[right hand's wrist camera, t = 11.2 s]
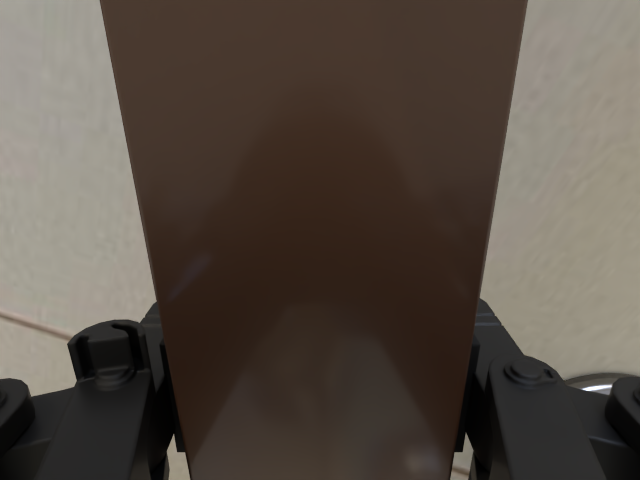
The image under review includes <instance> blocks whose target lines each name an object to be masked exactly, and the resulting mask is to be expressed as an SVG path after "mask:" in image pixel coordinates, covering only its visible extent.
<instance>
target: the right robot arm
mask: <svg viewBox="0 0 640 480" xmlns="http://www.w3.org/2000/svg"><path fill="white" fill-rule="evenodd" d="M67 345H68V349H69V353H70V356H71V360H72V364H73V368H74V372H75V375H76V379H77V382H76V384H75V386H74V387H72V388H69V389H65V390H61V391H56V392H52V393H47V394H42V395H38V396H33V397H31V395H30V392H29V389H28V385H26V384H25V383H24V382H23V381H22V380H17V379H11V378H7V379H0V480H168V479H169V470H170V469H169V462H168V456H167V449H168V447H169V444H170V442H171V439H172V437H173V434H174V436H175V442H176V448H177V452H185V448H184V443H183V437H182V432H181V427H180V422H179V416H178V411H177V406H176V400H175V395H174V390H173V385H172V379H171V374H170V369H169V363H168V358H167V353H166V348H165V342H164V337H163V332H162V326H161V321H160V316H159V311H158V305H157V302H156V303H154V304H153V305H152V307H151V308H150V310H149V311H148V312H147V314H146V315H145V318H143V319H142V321H141V322H140V323H138V322H135V321H131V320H111V321H106V322H101V323H98V324H96V325H93V326H90V327H88V328H86V329H84V330H82V331H81V332H79V333H78V334H76V335H75V336H74V337H73V338H72V339H71V340H70V341H69V342H68V344H67ZM466 433H467V435H468V438H469V440H470V443H471V445H472V448H473V450H474V451H473V456H472V462H471V467H470V473H469V479H468V480H640V377H639V376H635V375H629V374H619V373H602V374H592V375H586V376H581V377H577V378H573V379H569V380H566V381H563V379H562V378H561V377H560V375H559V374H558V373H557V371H555V370H554V369H553V368H551V367H550V366H549V365H547V364H546V363H544V362H542V361H539V360H537V359H535V358H533V357H529V356H525V355H524V354H523V353H522V352H521V350H520V349H519V347H518V346H517V345H516V343H515V342H514V340H513V339H512V338H511V336H510V335H509V333H508V332H507V331H506V329H505V328H504V326H501V322H500V321H499V319H498V318H497V317H496V316H495V314H494V312H493V311H492V310H491V308H490V307H489V305H488V304H487V303H486V302H485V301H483V300H482V299H480V298H479V304H478V310H477V316H476V322H475V329H474V335H473V341H472V347H471V353H470V359H469V365H468V372H467V378H466V384H465V390H464V396H463V402H462V409H461V415H460V421H459V427H458V433H457V439H456V445H455V452H463V446H464V440H465V434H466Z"/></svg>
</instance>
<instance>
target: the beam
mask: <svg viewBox="0 0 640 480" xmlns="http://www.w3.org/2000/svg"><path fill="white" fill-rule="evenodd" d="M527 2H528V0H100V4H101V9H102V15H103V20H104V25H105V30H106V36H107V41H108V46H109V52H110V57H111V62H112V67H113V73H114V78H115V83H116V89H117V94H118V99H119V104H120V110H121V115H122V120H123V126H124V131H125V136H126V141H127V147H128V152H129V157H130V163H131V168H132V173H133V178H134V184H135V189H136V194H137V200H138V205H139V210H140V215H141V221H142V226H143V231H144V237H145V242H146V247H147V252H148V258H149V263H150V268H151V274H152V279H153V284H154V289H155V295H156V300H157V305H158V311H159V316H160V321H161V326H162V332H163V337H164V342H165V348H166V353H167V358H168V363H169V369H170V374H171V379H172V385H173V390H174V395H175V400H176V406H177V411H178V416H179V422H180V427H181V432H182V437H183V443H184V448H185V453H186V459H187V464H188V469H189V474H190V480H450V476H451V470H452V464H453V458H454V452H455V445H456V439H457V433H458V427H459V421H460V415H461V409H462V402H463V396H464V390H465V384H466V378H467V372H468V365H469V359H470V353H471V347H472V341H473V335H474V329H475V322H476V316H477V310H478V304H479V298H480V292H481V285H482V279H483V273H484V267H485V261H486V255H487V248H488V242H489V236H490V230H491V224H492V218H493V212H494V205H495V199H496V193H497V187H498V181H499V175H500V168H501V162H502V156H503V150H504V144H505V138H506V132H507V125H508V119H509V113H510V107H511V101H512V95H513V88H514V82H515V76H516V70H517V64H518V58H519V51H520V45H521V39H522V33H523V27H524V21H525V15H526V8H527Z"/></svg>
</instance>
